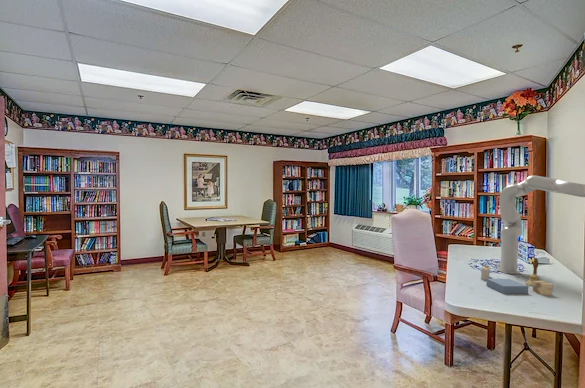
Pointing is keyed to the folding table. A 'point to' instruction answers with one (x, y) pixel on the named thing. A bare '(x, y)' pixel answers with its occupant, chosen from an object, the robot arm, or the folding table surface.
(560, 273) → the folding table surface
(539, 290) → the oak cube
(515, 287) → the slate base
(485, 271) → the model
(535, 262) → the hand bell
